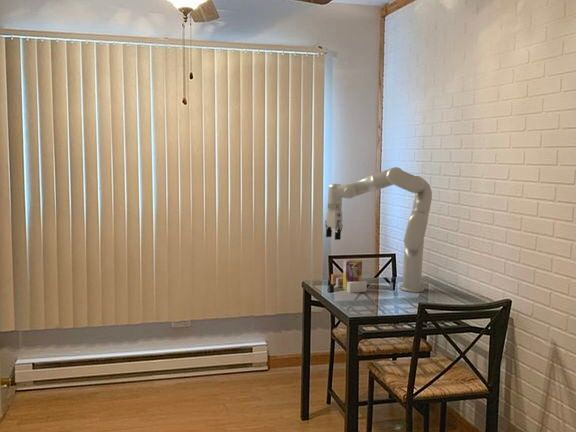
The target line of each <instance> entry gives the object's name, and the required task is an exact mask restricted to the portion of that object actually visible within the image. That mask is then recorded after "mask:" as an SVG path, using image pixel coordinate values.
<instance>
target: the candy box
mask: <svg viewBox="0 0 576 432" xmlns="http://www.w3.org/2000/svg"><path fill="white" fill-rule="evenodd" d="M342 267H343V269H342V270H343V271H342V274H343V287H342V289H343V290H344V291H347V282H353V281H363V280H362V278H363V277H362V274H363V271H362V270H363V260H361V259H343V266H342Z"/></svg>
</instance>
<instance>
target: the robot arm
mask: <svg viewBox="0 0 576 432" xmlns="http://www.w3.org/2000/svg"><path fill="white" fill-rule="evenodd" d="M391 186H396V187H398V188H401V189H402V190H405V191H407V192H410V193H412V194H414V196H415V197H414V202H413V206H412V210H411V214H410V216H409V218H408V221H407V225H406V230H405V234H404V239H403V244H404V256H403V273H402V285H400V286H399V290H401V291H403V292H408V293H421V292H424V290H425V289H424V286H425V287H426V286H429V282H428V281H422V273H423V259H424V243H425V239H424V238H425V235H426V231H427V227H428V222H429V215H430V209H431V205H432V200H433V199H432V198H433V191H432V188H431V185H430V184H429V182H428V181H427V180H426V179H425V178H423V177H422V176H419V175H414V174H412V173H409V172H408V171H404V170H403V169H402V168H401V167H397V166H396V167H395V166H394V167H391V168H388V169H385V170H383V171H379V172H377V173H374V174H371V175H368V176H367V177H365V178H363V179H360V180H358V181H354V182H351V183H348V184H340V183H330V184H329V185H328V192H327V193H328V194H327V212H326V220H325V222H324V223H325V231H326V233H325V237H326V238H331V237H332V236H333V235H332V234H333V229H334V230H335V232H334V240H336V241H339V240H341V234H342V230H343V227H344V224H343V210H342V209H343V208H342V206H343V205H342V204H343V199H347V200H348V199H350V200H351V199H352V198H355V197H357V196H361V195H364V194H367V193H369V192H376V191H380V190H381V189H385V188H387V187H391Z"/></svg>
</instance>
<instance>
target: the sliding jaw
mask: <svg viewBox="0 0 576 432" xmlns="http://www.w3.org/2000/svg"><path fill="white" fill-rule="evenodd" d="M330 284H331V285H335V287H336V288H343V273H334V274H333V273H331V274H330Z"/></svg>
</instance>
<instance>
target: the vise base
mask: <svg viewBox="0 0 576 432" xmlns="http://www.w3.org/2000/svg"><path fill="white" fill-rule="evenodd" d="M367 287H368V282H367V281H365V280H362V281H353V282H347V290H346V292H347V293H349V294H350V293H351V294H352V293H362V292H367Z"/></svg>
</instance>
